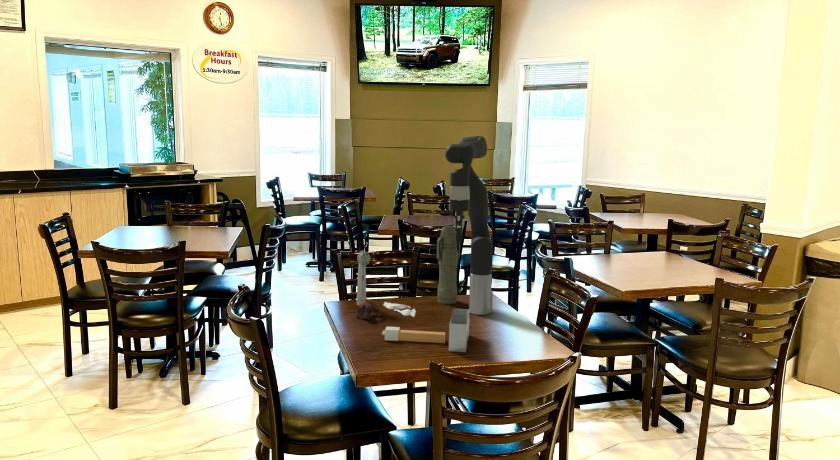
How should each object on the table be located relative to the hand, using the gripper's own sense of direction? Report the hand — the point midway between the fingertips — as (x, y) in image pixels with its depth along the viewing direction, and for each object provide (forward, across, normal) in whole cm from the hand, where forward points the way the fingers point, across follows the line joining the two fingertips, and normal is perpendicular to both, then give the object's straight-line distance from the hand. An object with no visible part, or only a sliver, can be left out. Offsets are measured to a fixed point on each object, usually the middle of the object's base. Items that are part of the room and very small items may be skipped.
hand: (459, 240), depth 238 cm
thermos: (+36, -45, -7) cm, 58 cm away
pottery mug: (+36, -13, -39) cm, 55 cm away
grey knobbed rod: (+35, -31, -44) cm, 64 cm away
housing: (+36, +13, +1) cm, 38 cm away
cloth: (+36, -29, -26) cm, 53 cm away
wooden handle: (+35, +12, -16) cm, 41 cm away
